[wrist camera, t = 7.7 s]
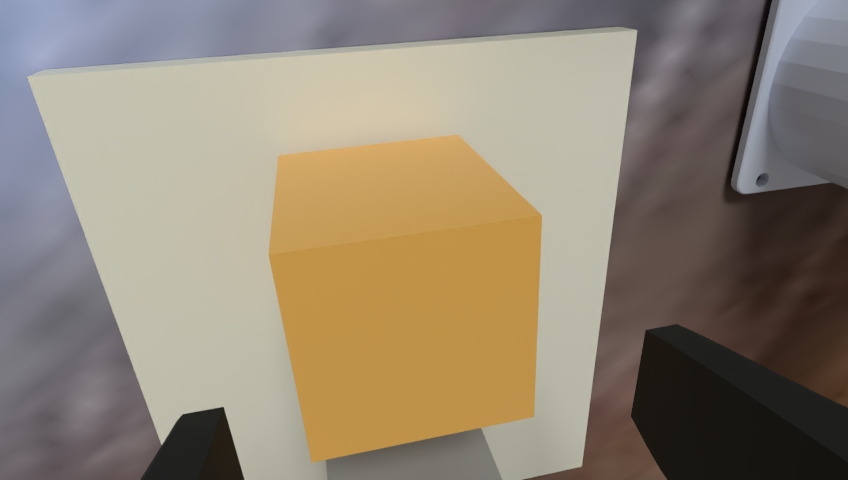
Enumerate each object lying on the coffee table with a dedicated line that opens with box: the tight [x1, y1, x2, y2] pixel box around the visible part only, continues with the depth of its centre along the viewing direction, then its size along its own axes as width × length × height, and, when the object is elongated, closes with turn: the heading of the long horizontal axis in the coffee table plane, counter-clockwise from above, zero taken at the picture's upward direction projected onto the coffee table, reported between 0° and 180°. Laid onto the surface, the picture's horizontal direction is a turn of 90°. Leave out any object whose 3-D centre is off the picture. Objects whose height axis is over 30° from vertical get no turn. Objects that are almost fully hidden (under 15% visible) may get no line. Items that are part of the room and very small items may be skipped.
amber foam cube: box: [269, 135, 542, 463], centre depth 14 cm, size 5×5×6 cm
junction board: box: [27, 27, 637, 480], centre depth 16 cm, size 16×18×8 cm
